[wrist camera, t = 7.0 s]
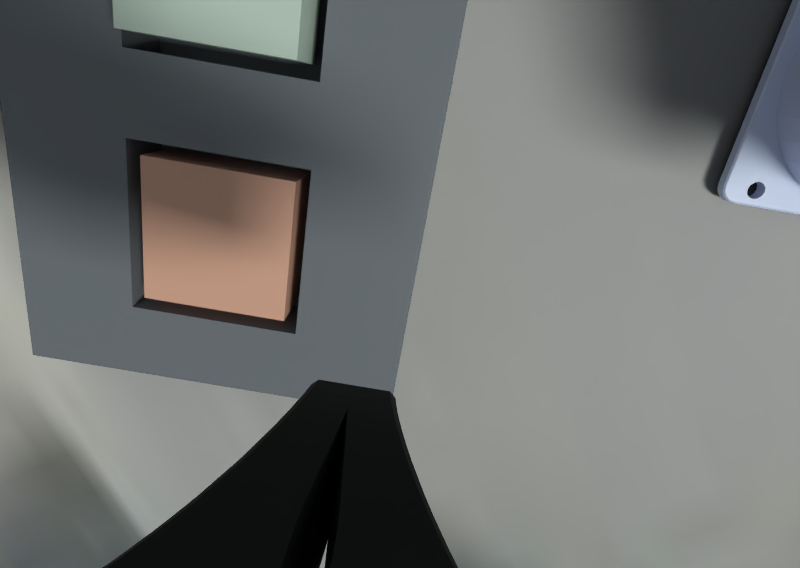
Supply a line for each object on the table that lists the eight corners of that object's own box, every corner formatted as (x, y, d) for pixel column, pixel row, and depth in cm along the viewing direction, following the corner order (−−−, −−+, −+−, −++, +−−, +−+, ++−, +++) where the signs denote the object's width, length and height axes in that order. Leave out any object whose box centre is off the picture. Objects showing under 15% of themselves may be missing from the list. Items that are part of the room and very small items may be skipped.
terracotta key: (310, 171, 16) (295, 182, 14) (298, 296, 17) (283, 321, 15) (174, 147, 15) (139, 154, 14) (174, 275, 17) (144, 297, 15)
